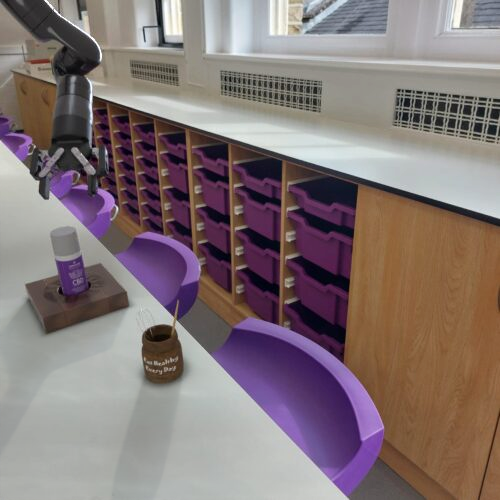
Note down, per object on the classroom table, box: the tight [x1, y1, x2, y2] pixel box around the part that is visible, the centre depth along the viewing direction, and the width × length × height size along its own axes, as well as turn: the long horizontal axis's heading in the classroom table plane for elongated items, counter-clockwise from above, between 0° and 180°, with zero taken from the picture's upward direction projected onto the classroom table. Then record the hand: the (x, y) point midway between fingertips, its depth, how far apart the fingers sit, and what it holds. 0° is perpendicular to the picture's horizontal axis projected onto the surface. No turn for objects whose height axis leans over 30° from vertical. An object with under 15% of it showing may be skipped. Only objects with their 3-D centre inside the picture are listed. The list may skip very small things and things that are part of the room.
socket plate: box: [24, 262, 130, 335], centre depth 93 cm, size 15×15×4 cm
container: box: [49, 226, 89, 296], centre depth 90 cm, size 5×5×15 cm
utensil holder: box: [135, 299, 185, 384], centre depth 71 cm, size 6×6×12 cm
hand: (68, 196), depth 92 cm, fingers open, 8 cm apart
